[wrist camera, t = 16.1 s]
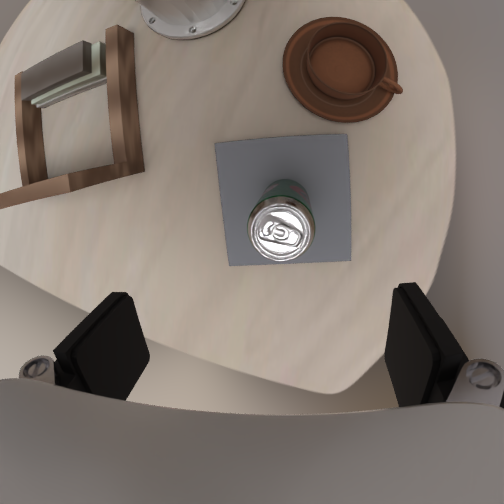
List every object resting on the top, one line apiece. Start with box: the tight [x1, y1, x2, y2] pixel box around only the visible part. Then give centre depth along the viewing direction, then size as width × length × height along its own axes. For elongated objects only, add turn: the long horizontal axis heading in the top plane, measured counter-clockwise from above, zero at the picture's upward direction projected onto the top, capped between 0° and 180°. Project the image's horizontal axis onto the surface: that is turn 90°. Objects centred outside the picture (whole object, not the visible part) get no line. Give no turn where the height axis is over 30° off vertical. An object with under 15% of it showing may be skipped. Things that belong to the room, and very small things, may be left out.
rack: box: [0, 25, 145, 209], centre depth 27 cm, size 18×18×14 cm
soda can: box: [247, 179, 315, 262], centre depth 28 cm, size 5×5×12 cm
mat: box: [215, 134, 351, 266], centre depth 34 cm, size 14×14×1 cm
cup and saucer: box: [283, 17, 403, 123], centre depth 25 cm, size 12×12×6 cm
